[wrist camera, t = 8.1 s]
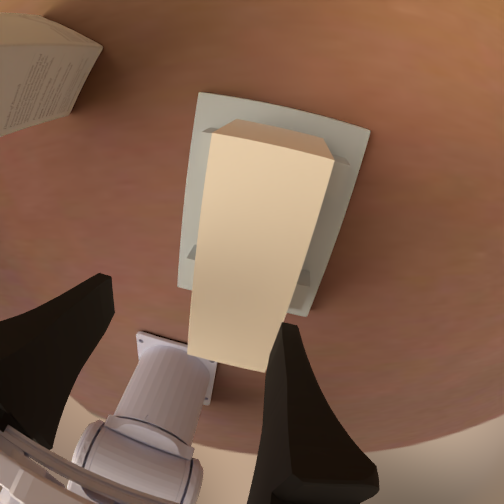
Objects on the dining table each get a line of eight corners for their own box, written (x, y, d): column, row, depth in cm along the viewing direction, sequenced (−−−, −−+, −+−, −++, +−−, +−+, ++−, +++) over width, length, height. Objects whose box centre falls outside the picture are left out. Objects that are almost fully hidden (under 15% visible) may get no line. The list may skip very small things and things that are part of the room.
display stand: (306, 310, 24) (306, 333, 22) (180, 280, 24) (169, 301, 22) (367, 128, 17) (378, 135, 14) (202, 91, 17) (188, 93, 14)
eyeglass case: (272, 315, 21) (264, 372, 17) (207, 300, 21) (186, 354, 17) (323, 138, 15) (334, 160, 11) (236, 118, 15) (211, 132, 11)
